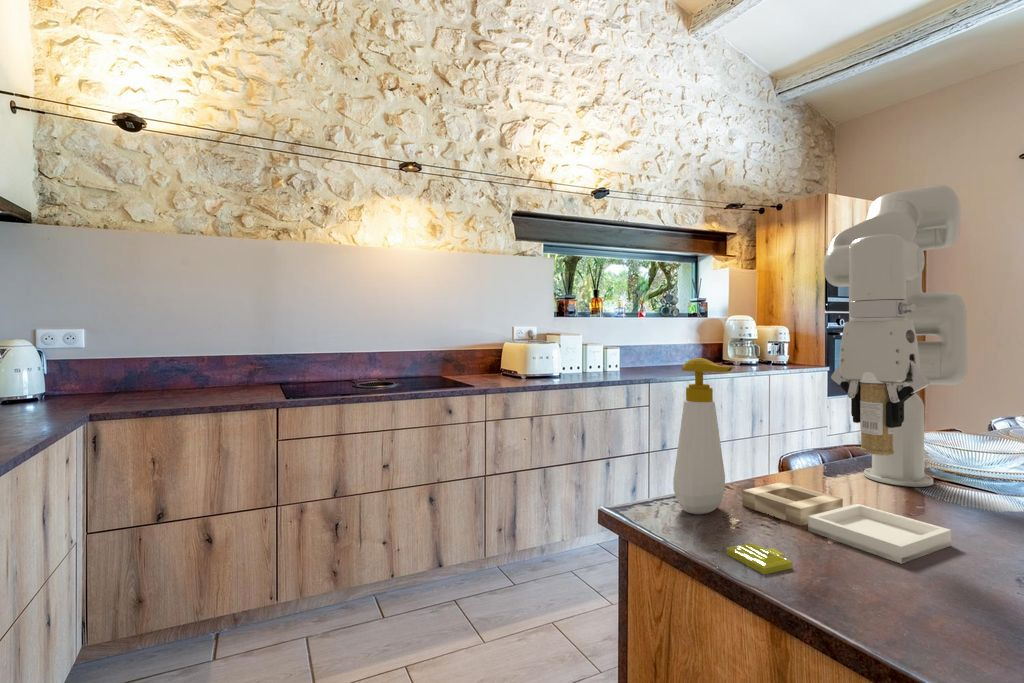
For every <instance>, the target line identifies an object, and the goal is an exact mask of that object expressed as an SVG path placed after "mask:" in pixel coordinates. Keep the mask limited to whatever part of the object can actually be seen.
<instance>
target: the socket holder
mask: <svg viewBox="0 0 1024 683" xmlns="http://www.w3.org/2000/svg"><path fill="white" fill-rule="evenodd" d="M741 492H742V495H741V499H742V503H741V505H742V506H743V507H746V508H747V509H751V510H755V511H756V512H760V513H763V514H765V513H766V515H768V514H769V515H768V516H770V517H771V516H772V517H774V516H775V518H776V519H777V518H778V519H779V520H783V521H785V520H786V522H788V521H789V523H791V524H795V525H798V526H802V527H803V526H806V525H808V516H811V515H815V514H819V513H823V512H826V511H830V510H834V509H838V508H842V507H844V506H843V505H844V504H843V502H844V499H843V497H838V496H835V495H830V494H827V493H824V492H821V491H816V490H812V489H809V488H807V487H806V488H805V487H802V486H800V485H795V484H791V483H787V482H784V481H780V482H776V483H771V484H767V485H766V484H765V485H761V486H757V487H755V486H754V487H752V488H746V489H742V491H741Z"/></svg>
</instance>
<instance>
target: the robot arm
mask: <svg viewBox="0 0 1024 683" xmlns="http://www.w3.org/2000/svg"><path fill="white" fill-rule="evenodd" d="M961 213H962V212H961V203H960V199H959V196H958V194H957V193H956V191H955V190H954V189H953V188H952V187H950V186H948V185H942V184H941V185H940V184H938V185H936V184H935V185H932V186H925V187H924V186H923V187H918V188H912V189H906V190H898V191H893V192H890V193H885V194H883V195H880V196H879V197H878V198H876V199H875V200H874V201H873V202H872V203H871V204H870V206H869V209H868V212H867V214H866V218H865V220H864V221H861V222H859V223H857V224H855V225H853V226H850V227H848V228H846V229H844V230H842V231H840V232H839V233H837V235H835V236H834V237H833V238H832V240H831V241H830V243H829V246H828V248H827V251H826V254H825V256H824V261H823V274H824V278H825V279H826V281H827V283H829V285H832V286H833V287H838V288H847V287H848V321H845V323H844V325H843V330H842V335H841V340H840V349H839V351H840V352H839V362H838V363H839V365H838V366H837V367H836V368H835V370H834V371H833V372H832V374H831V376H830V378H831V380H832V381H833V382H835V383H836V384H837V385H839V386H840V387H841V388H842V390H843V391H844V392H845V393H846V394H847V397H848V398H849V399H851V400H850V402H851V403H850V407H851V408H850V410H851V411H850V412H851V413H850V414H851V416H852V422H853V423H856V424H860V400H861V393H860V392H861V385H860V383H861V382H859V381H860V380H861V378H862V375H863V373H865V372H870V373H873V374H874V375H875V377H876V379H877V381H880V382H882V383H886V385H887V389H888V393H889V398H890V402H887V403H886V426H887V427H889V428H893V450H894V453H893V454H892V455H874V454H871V467H868V468H865V469H864V470H863V475H864V476H865V478H868V479H870V480H872V481H875V482H879V483H883V484H888V485H894V486H899V487H900V486H901V487H911V488H924V487H930V486H933V485H934V478H933V477H932V476H930V475H927V474H926V473H925V469H927V468H930V467H931V462H930V460H928V459H925V404H924V402H923V399H922V398H921V397H920V396H919V394H917V392H919V391H921V390H923V389H925V388H927V387H929V386H930V385H931V386H933V385H935V386H936V385H938V386H941V385H943V386H955V385H960V384H961V383H963V382H964V381H965V380H966V377H967V374H968V369H969V368H968V366H969V365H968V363H969V362H968V360H969V359H968V358H969V357H968V356H969V354H968V353H969V352H968V351H969V350H968V348H969V347H968V314H967V312H968V311H967V307H966V302H965V300H964V299H963V297H962V296H961V295H960V294H958V293H956V292H952V291H951V292H950V291H932V292H923V287H922V286H923V285H922V284H923V281H922V280H923V273H922V272H923V270H924V267H925V264H926V262H925V253H924V251H933V250H942V249H948V248H950V247H952V246H953V245H955V244H956V242H957V241H958V240H959V238H960V232H961ZM917 336H935V337H937V338H939V340H940V341H939V340H938V341H934V340H932V341H928V340H925V341H924V340H923V341H921V340H920V341H918V339H917Z"/></svg>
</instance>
